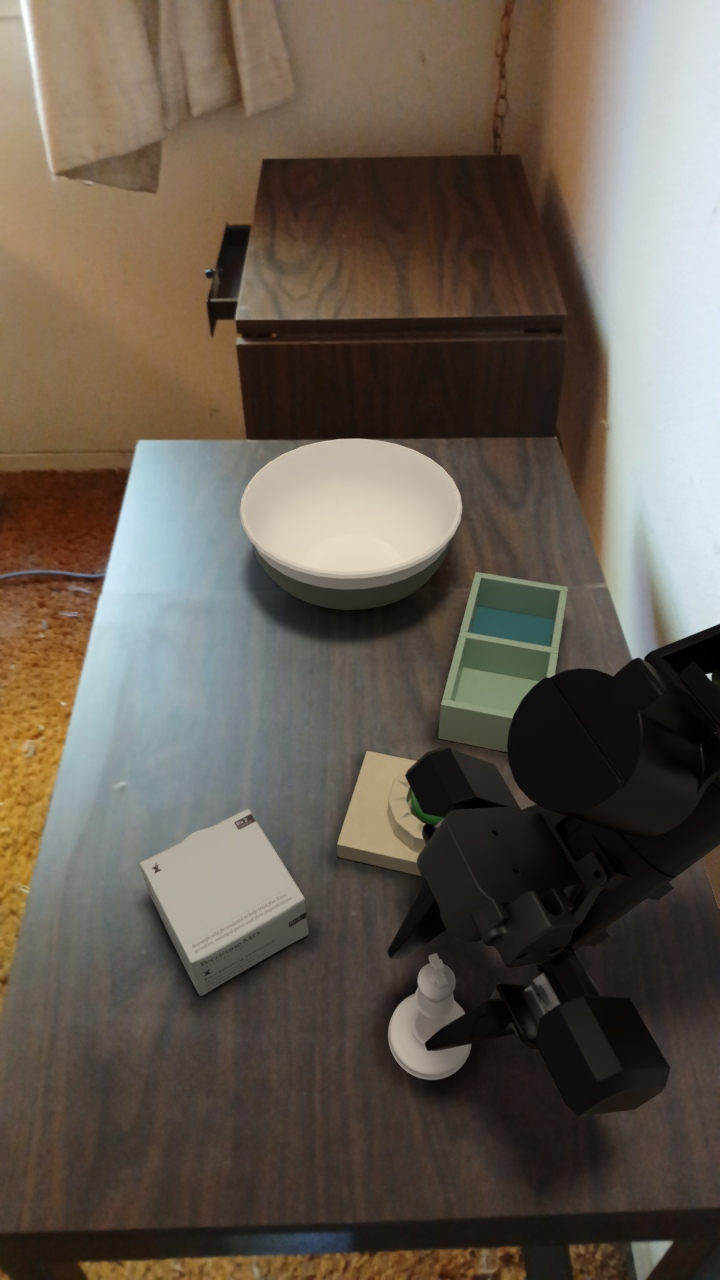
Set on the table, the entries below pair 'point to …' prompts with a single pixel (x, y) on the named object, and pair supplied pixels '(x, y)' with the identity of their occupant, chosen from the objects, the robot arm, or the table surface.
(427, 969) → the chess piece
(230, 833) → the small box
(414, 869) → the beige button base
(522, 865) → the robot arm
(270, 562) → the bowl
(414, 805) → the button
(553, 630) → the green divided tray
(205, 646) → the table surface
